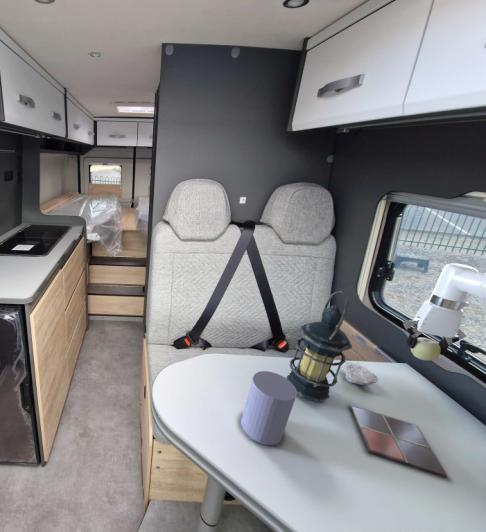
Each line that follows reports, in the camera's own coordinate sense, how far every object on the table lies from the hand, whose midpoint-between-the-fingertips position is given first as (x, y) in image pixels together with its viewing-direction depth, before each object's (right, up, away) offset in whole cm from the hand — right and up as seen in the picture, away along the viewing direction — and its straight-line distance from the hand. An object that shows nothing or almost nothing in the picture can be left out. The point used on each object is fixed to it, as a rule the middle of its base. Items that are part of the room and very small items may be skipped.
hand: (424, 349), depth 103 cm
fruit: (0, -3, +1) cm, 4 cm away
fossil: (-22, -12, +2) cm, 25 cm away
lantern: (-43, -12, -5) cm, 45 cm away
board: (-28, -19, -20) cm, 40 cm away
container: (-64, -16, -21) cm, 69 cm away
